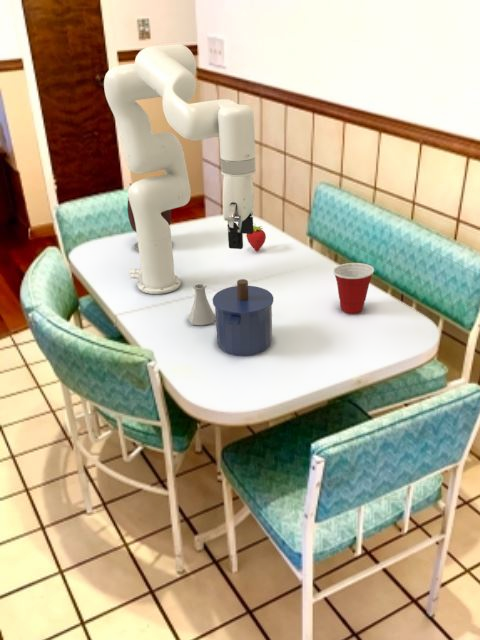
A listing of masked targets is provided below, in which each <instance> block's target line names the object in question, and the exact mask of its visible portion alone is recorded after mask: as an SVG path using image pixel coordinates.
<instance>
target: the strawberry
mask: <svg viewBox="0 0 480 640" xmlns="http://www.w3.org/2000/svg"><path fill="white" fill-rule="evenodd" d="M245 237H246V239H247V242H248V244H249V245H250V247H251V248H252V249H253V250H254V251H255V252H259V251H260V250H261V248H262V247H263V246H264V244H265V242H266V239H267V235H266V232H265V231H264V228H263V227H262V225H260V226H256V224H253V233H252V234H246V235H245Z"/></svg>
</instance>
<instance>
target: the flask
mask: <svg viewBox="0 0 480 640" xmlns="http://www.w3.org/2000/svg"><path fill="white" fill-rule="evenodd" d="M206 287H207V284H205V283H202V282H199V283H195V284H194V285H193V289H194V298H193V303H192V306H191V311H190V313H189V316H188V321H189V323H190V324H191V325H194V326H207V325H211V324H213V323H214V321H216V315H215V313H214V311H213V309H212V307H211V305H210V303H209V301H208V298H207V293H206Z"/></svg>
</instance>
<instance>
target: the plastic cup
mask: <svg viewBox="0 0 480 640" xmlns="http://www.w3.org/2000/svg"><path fill="white" fill-rule="evenodd" d="M374 272H375V268H374V266H372V265H370V264H367V263H361V262H349V263H347V262H346V263H342V264H339V265H336V266H334V268H333V269H332V273H333V274H334V277H335V281H336V286H337V293H338V299H339V305H340V310H341V311H342V312H343V313H345V314H348V315H358V314H360V313H361V312H362V311H363V309H364V307H365V306H364V305H365V301H366V299H367V294H368V291H369V286H370V283H371V279H372V276H373V274H374Z"/></svg>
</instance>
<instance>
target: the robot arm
mask: <svg viewBox="0 0 480 640" xmlns="http://www.w3.org/2000/svg"><path fill="white" fill-rule="evenodd" d="M196 71H197V62H196V58H195V56H194V54H193V52H192V51H191V49H189V47H187V46H186V45H184V44H180V43H174V44H173V43H172V44H163V45H153V46H148V47H145V48H143V49H141V50H140V51H139V52H138V53H137V54H136V55H135V60H134V63H127V64H121V65H116V66H114V67H112V68H110V69H109V70H107V72H106V73H105V76H104V80H103V88H104V90H103V91H104V95H105V99H106V101H107V104H108V107H109V108H110V111H111V112H112V114H113V116H114V118H115V121H116V124H117V125H116V126H117V128H118V133H119V138H120V142H121V146H122V151H123V155H124V159H125V162H126V166H127V168H128V170H129V171H130V172H131V173H133V174H137V175H139V174H142V175H143V174H147V173H154V172H157V171H162V170H163V171H164V173H163V174H161V175H155V176H150V177H145V178H142V179H138V180H137V181H134V182H133V183H132V185H131V186H130V185H129V188H128V191H127V199H128V198H129V202H130V205H131V208H132V212H133V215H134V220H135V225H136V232H135V233H136V239H137V242H138V248H139V252H138V255H139V263H140V264H139V265H140V269H135V268H130V269H129V277H130V279H133V280H134V279H137V280H138V281H137V289H138V290H139V291H141V292H142V293H146V294H149V295H160V294H161V295H163V294H167V293H171V292H173V291H176V290H177V289H178V288H180V286H181V284H182V281H181V278H180V277H179V276H178V275H175V274H176V273H175V264H174V253H173V252H174V251H173V243H172V232H171V231H172V230H171V226H169V224H168V222H167V221H166V220H165V219H164V218H163V217H162V216H161V212H163V211H166V210H170V209H171V210H174V209H177V208H181V207H184V206H186V205H187V204H189V202H190V200H191V197H192V191H191V184H190V178H189V174H188V173H189V172H188V169H187V168H188V167H187V163H186V158H185V153H184V149H183V145H182V143H181V141H180V140H179V138H178V137H177V136H176V135H175V134H173V132H169V131H161V132H157V133H154V132H153V129H152V125H151V120H150V117H149V115H148V113H147V111H146V110H145V109H144V108H143V107H142V106H141V105H140V104H139V102H137V101H140V100H148V99H149V100H150V99H156V98H162V101H161V105H162V111H163V115H164V117H165V120H166V121H167V123H168V125H169V126H170V128H172V129H173V130H174V131H175V132H176V133H177V134H178V135H179V136H181V137H182V138H184V139H185V140H188V141H192V142H193V141H195V142H196V141H197V142H198V141H203V140H208V139H211V138H218V140H219V141H218V142H219V157H220V174H221V175H222V176H223V179H222V218H223V220H224V221H227V238H228V239H227V241H228V248H229V249H233V250H243V248H244V237H243V236H244V235H245V234H246V235H247V234H252V233H253V225H254V217H253V215H254V212H253V209H254V201H255V199H254V182H253V181H254V180H253V175H254V174H256V171H257V170H256V141H255V140H256V139H255V137H256V136H255V113H254V109H253V108H252V107H251V106H250V105H248V104H239V103H237V102H235V101H234V100H232V99H228V98H221V99H213V100H205V101H198V102H194V103H190V102H191V100H192V99H193V97H194V96H195V93H196V88H197V82H196V78H195V74H196ZM243 234H244V235H243Z"/></svg>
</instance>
